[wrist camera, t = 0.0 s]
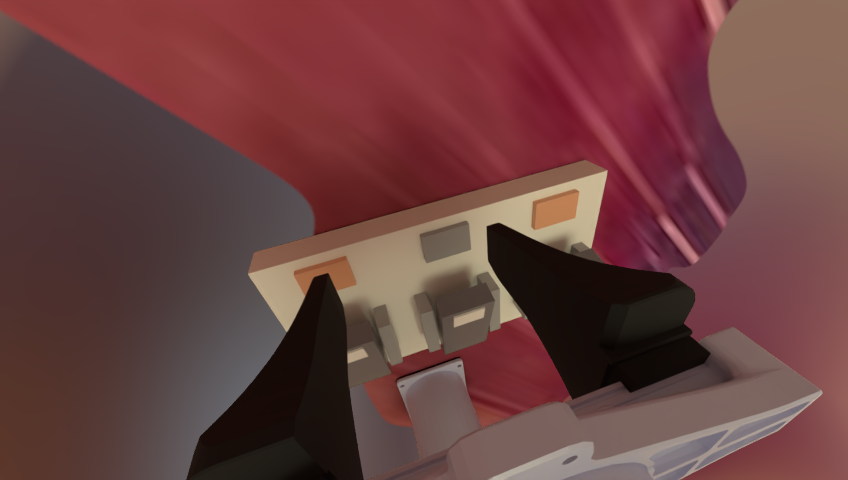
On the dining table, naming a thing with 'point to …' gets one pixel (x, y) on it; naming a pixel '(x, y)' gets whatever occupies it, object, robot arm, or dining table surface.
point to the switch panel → (430, 254)
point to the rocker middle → (464, 317)
